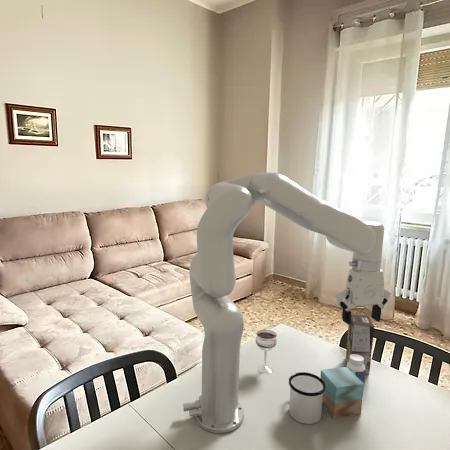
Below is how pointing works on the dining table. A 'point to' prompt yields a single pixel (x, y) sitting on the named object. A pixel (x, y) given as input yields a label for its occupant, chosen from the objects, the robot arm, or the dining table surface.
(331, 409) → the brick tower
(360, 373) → the pill bottle
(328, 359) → the dining table surface
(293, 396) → the mug
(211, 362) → the robot arm
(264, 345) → the wineglass
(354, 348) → the coffee box
